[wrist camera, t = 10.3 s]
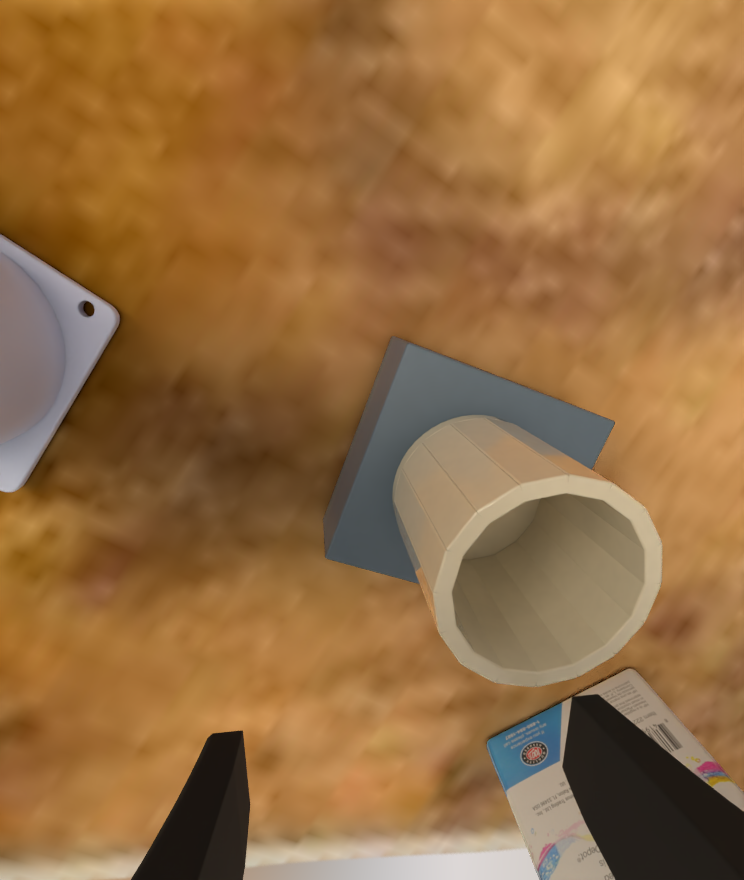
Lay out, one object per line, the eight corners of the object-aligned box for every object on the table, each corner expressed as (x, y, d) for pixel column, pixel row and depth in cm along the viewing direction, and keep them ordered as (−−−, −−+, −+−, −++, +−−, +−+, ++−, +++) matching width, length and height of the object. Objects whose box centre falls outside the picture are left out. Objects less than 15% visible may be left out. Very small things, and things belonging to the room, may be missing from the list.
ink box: (517, 799, 26) (678, 1189, 14) (482, 738, 24) (631, 1120, 13) (660, 728, 26) (936, 1067, 14) (633, 662, 24) (919, 982, 13)
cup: (360, 513, 16) (386, 625, 11) (457, 382, 16) (541, 428, 10) (479, 585, 18) (559, 719, 12) (574, 469, 17) (708, 554, 11)
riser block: (322, 519, 20) (324, 559, 17) (391, 335, 18) (407, 341, 15) (491, 568, 21) (520, 612, 18) (569, 403, 20) (616, 422, 17)
